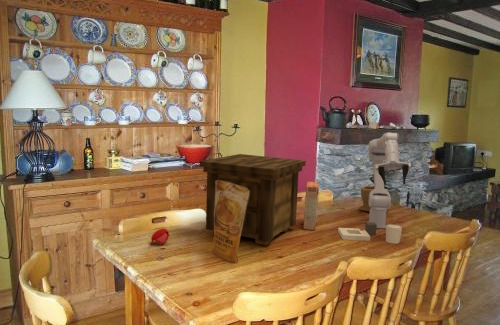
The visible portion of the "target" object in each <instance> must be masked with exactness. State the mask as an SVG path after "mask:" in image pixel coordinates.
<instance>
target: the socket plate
mask: <svg viewBox="0 0 500 325" xmlns="http://www.w3.org/2000/svg"><path fill="white" fill-rule="evenodd" d="M337 233H338V234H339V236H340V237H341V239H342V240H345V241H362V242H364V241H365V242H366V241H367V242H371V235H369V234H368V233H367V232H366V231H365V229H364V228H363V227H359V228H351V227H338V228H337Z"/></svg>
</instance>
